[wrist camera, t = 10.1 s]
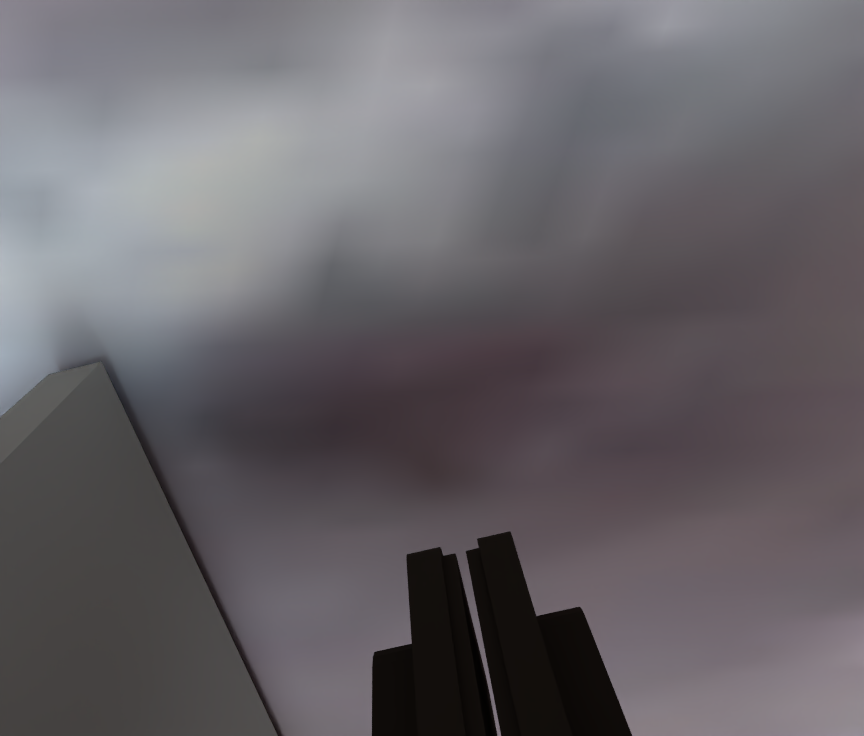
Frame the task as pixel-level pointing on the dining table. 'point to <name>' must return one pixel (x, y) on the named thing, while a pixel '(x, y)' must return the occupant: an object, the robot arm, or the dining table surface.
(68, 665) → the side door
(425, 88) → the dining table surface
